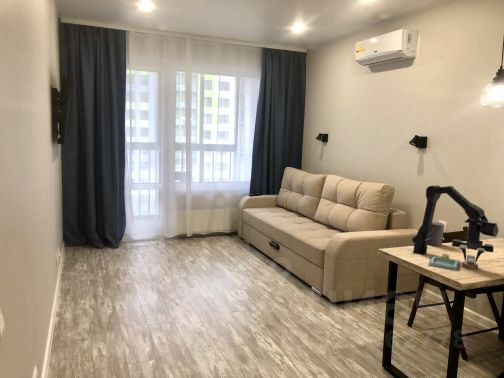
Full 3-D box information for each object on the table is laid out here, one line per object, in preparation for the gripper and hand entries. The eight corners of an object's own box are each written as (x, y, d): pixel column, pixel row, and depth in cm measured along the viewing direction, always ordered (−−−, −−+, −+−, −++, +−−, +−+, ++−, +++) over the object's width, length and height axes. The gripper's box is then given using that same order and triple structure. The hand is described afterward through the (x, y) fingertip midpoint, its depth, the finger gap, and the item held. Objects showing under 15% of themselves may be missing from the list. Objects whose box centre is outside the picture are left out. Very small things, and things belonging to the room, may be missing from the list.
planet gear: (461, 267, 212) (462, 256, 211) (462, 264, 218) (463, 253, 217) (477, 270, 208) (479, 259, 207) (477, 266, 214) (479, 255, 213)
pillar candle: (425, 245, 252) (427, 221, 250) (424, 241, 261) (427, 218, 259) (442, 247, 249) (445, 223, 246) (441, 243, 258) (444, 220, 255)
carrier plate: (428, 265, 213) (428, 260, 212) (431, 256, 228) (432, 251, 228) (457, 271, 206) (458, 265, 206) (459, 261, 222) (460, 256, 221)
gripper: (452, 232, 208) (449, 262, 210) (495, 238, 199) (491, 269, 201) (454, 228, 217) (450, 256, 220) (494, 234, 208) (491, 263, 211)
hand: (470, 261), depth 212 cm, fingers open, 4 cm apart
